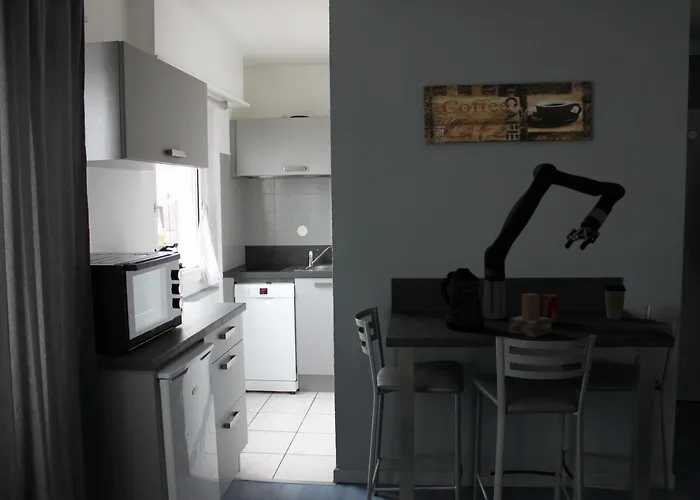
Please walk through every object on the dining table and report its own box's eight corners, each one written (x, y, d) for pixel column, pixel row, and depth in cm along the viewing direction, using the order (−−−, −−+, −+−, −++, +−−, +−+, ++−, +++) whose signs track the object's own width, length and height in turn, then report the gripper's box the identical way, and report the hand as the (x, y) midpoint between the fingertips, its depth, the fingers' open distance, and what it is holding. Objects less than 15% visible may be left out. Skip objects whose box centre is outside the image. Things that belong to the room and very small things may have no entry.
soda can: (558, 323, 270) (559, 296, 269) (541, 323, 271) (542, 296, 270) (556, 320, 277) (557, 294, 276) (540, 320, 278) (540, 293, 277)
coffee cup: (615, 321, 274) (616, 287, 273) (598, 317, 282) (598, 284, 281) (630, 319, 278) (631, 285, 277) (612, 315, 286) (613, 283, 285)
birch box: (508, 333, 254) (508, 318, 254) (525, 328, 262) (525, 314, 262) (534, 337, 245) (534, 322, 245) (551, 333, 253) (551, 318, 252)
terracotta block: (521, 318, 255) (521, 293, 254) (532, 317, 256) (532, 293, 255) (528, 320, 250) (528, 295, 249) (539, 319, 251) (539, 294, 250)
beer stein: (482, 332, 254) (483, 271, 252) (435, 330, 260) (435, 270, 258) (486, 324, 270) (486, 267, 268) (441, 322, 276) (441, 266, 274)
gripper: (577, 214, 276) (556, 241, 272) (602, 215, 263) (581, 243, 260) (585, 226, 279) (565, 253, 275) (611, 227, 266) (590, 255, 262)
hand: (573, 248), depth 267 cm, fingers open, 8 cm apart
